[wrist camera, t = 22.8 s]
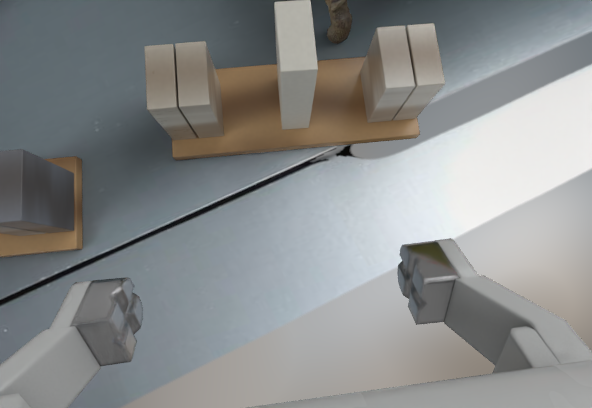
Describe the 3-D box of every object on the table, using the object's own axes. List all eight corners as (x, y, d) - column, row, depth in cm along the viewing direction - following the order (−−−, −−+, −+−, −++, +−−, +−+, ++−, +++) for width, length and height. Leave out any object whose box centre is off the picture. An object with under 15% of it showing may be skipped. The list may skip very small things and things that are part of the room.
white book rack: (416, 138, 35) (451, 102, 28) (175, 160, 34) (145, 129, 27) (403, 58, 36) (433, 4, 29) (171, 78, 35) (141, 27, 28)
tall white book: (308, 128, 34) (318, 69, 24) (282, 130, 34) (280, 71, 24) (303, 76, 35) (310, -1, 25) (277, 78, 35) (274, 1, 25)
